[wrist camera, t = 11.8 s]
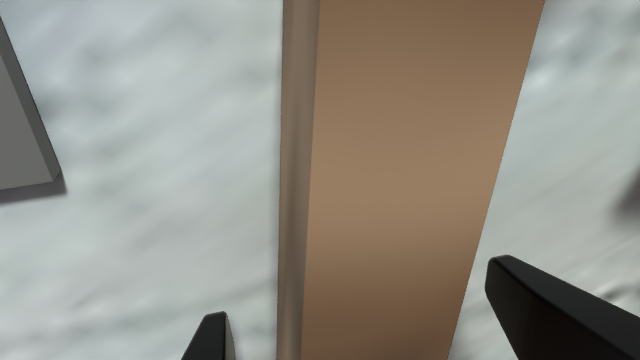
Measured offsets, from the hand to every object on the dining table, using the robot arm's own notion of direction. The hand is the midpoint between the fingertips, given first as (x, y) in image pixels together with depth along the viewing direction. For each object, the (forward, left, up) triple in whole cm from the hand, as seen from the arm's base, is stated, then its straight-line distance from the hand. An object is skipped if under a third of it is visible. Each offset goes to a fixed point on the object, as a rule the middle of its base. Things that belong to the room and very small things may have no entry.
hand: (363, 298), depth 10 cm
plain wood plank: (0, 0, -2) cm, 2 cm away
